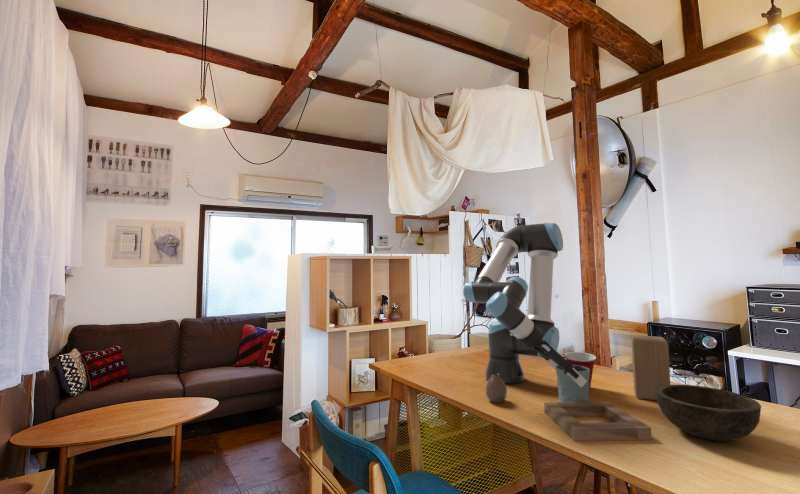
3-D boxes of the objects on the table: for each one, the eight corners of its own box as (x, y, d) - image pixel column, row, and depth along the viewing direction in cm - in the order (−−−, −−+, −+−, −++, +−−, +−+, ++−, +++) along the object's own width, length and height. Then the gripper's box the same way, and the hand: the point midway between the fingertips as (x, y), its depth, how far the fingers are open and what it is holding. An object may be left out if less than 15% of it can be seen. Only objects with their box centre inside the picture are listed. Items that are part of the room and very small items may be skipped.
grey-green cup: (553, 406, 124) (552, 368, 124) (560, 398, 132) (559, 362, 133) (588, 413, 118) (586, 373, 119) (593, 403, 126) (592, 366, 127)
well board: (544, 412, 119) (544, 402, 119) (608, 411, 119) (608, 401, 119) (574, 440, 99) (573, 428, 99) (651, 439, 99) (650, 427, 99)
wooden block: (635, 399, 130) (632, 339, 131) (633, 390, 139) (631, 334, 140) (671, 403, 125) (668, 341, 127) (667, 394, 134) (664, 336, 135)
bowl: (786, 447, 94) (783, 405, 94) (722, 461, 88) (719, 416, 88) (695, 415, 115) (693, 381, 115) (638, 424, 108) (636, 388, 109)
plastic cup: (565, 390, 140) (564, 357, 141) (565, 382, 150) (564, 351, 151) (599, 393, 136) (597, 359, 137) (596, 385, 146) (594, 353, 147)
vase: (493, 396, 135) (492, 370, 135) (510, 400, 130) (510, 374, 130) (481, 401, 130) (481, 374, 130) (500, 406, 125) (499, 378, 125)
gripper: (507, 333, 138) (549, 375, 137) (532, 347, 113) (584, 399, 113) (521, 318, 138) (564, 360, 138) (549, 329, 113) (601, 380, 113)
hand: (573, 377), depth 125 cm, fingers open, 13 cm apart
